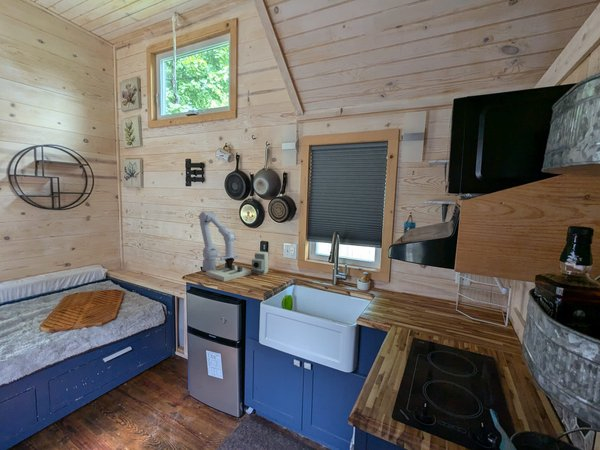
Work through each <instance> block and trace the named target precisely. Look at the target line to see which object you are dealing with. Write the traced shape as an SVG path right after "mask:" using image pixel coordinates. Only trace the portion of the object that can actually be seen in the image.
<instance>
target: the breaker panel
mask: <svg viewBox="0 0 600 450" xmlns="http://www.w3.org/2000/svg"><path fill="white" fill-rule="evenodd" d="M205 272H206V275H205V276H208V277H211V278H213V279H216V280H218V281H222V282H227V281H231V280H233V279H238V278H241V277H244V276H248V275H251V274H252V269H250V268H249V269H248V268H246V267H243V265H236V264H235V269H234V270H231V269H228V267H227V263H226V262H224V266H221V267H219V268H215V269H213V270H209V271H205Z"/></svg>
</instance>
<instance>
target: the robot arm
mask: <svg viewBox="0 0 600 450" xmlns="http://www.w3.org/2000/svg"><path fill="white" fill-rule="evenodd" d="M198 218H199V226H200V230H201V235H202V239H203V243H204V248H203V249H202V257H203V260H202V268H201V271H204V272H206V271H209V270H213V269H216V259H217V257H218V255H219V252H218V250H217V247H216V246H214V245H213V241H212V237H211V231H210V226H209V225H210V223H212V224H213V225H214V226H215V227H216V228H218V230H217V231H218V232H219V233H220V235H222V237H223V240H224V244H225V248H224V249H225V251H224V252H225V254H224V256H221V257H219V258H220V259H219V261H225V263H227V267H228V269H231V267H232V263H233V264H234V262H235V258H239V254H237V253H235V252H234V249H235V247H234V246H235V245H234V244H235V240H236V235H235V233H234V232H231V231H230V230H229V229H228V228H227V226H226V225H223V224H222V223H221V222H220V221H219V219H218V218H217V215H216V214H215V212H214V211H201V212H200V214H199V215H198ZM234 253H235V254H234Z"/></svg>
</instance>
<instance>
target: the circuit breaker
mask: <svg viewBox="0 0 600 450" xmlns="http://www.w3.org/2000/svg"><path fill="white" fill-rule="evenodd" d="M269 255H270V254H269V251H260V250H259V251H257V252H255V253H254V258H252V259H251V271H254V274H258V275H266V274H267V273H269V258H270V257H269Z"/></svg>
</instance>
